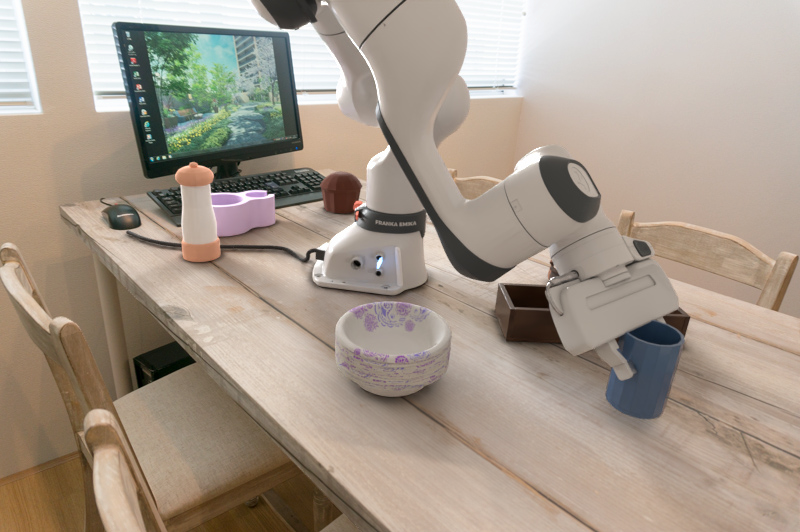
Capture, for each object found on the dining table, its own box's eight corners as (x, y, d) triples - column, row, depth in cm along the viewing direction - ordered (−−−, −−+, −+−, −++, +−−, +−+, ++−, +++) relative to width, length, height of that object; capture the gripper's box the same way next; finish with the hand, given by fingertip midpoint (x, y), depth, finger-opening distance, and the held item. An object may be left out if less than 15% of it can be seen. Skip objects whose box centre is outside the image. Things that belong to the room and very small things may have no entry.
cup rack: (505, 341, 83) (510, 309, 81) (494, 312, 92) (498, 282, 90) (681, 348, 84) (690, 316, 82) (653, 318, 93) (660, 289, 91)
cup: (617, 418, 63) (636, 345, 59) (597, 384, 69) (612, 316, 65) (674, 420, 63) (696, 347, 59) (648, 386, 69) (667, 318, 65)
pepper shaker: (191, 264, 104) (181, 168, 97) (177, 253, 109) (167, 160, 102) (226, 257, 108) (219, 164, 101) (211, 247, 113) (204, 157, 106)
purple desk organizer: (259, 213, 138) (258, 187, 135) (284, 226, 129) (283, 198, 127) (182, 226, 125) (179, 197, 122) (204, 241, 117) (201, 210, 114)
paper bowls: (356, 423, 63) (358, 366, 60) (321, 357, 75) (321, 308, 72) (467, 398, 69) (474, 344, 66) (417, 340, 81) (421, 294, 78)
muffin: (343, 217, 138) (343, 179, 134) (311, 209, 144) (310, 172, 140) (369, 208, 148) (371, 172, 144) (339, 201, 153) (339, 166, 149)
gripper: (559, 270, 58) (620, 388, 55) (657, 240, 70) (712, 336, 67) (522, 291, 63) (576, 401, 60) (620, 260, 75) (669, 351, 72)
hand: (648, 366), depth 63 cm, fingers closed on cup, 7 cm apart
